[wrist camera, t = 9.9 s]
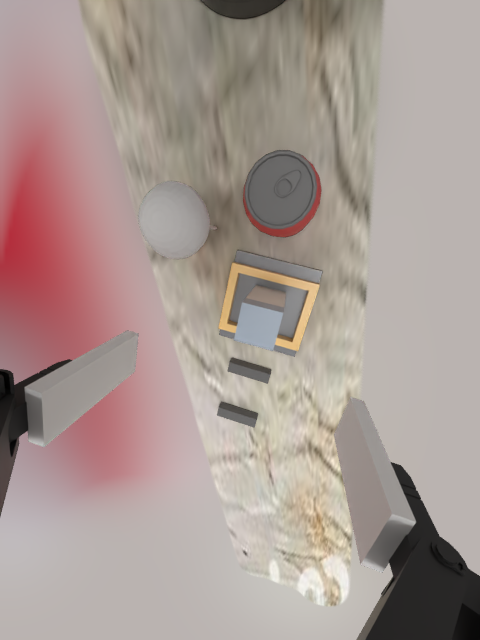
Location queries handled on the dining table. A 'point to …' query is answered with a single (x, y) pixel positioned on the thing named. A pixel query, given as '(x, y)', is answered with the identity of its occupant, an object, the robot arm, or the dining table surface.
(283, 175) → the beer can
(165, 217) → the lollipop
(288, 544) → the dining table surface
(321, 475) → the dining table surface
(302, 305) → the panel
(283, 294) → the plug
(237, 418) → the dark gray parallel bars
